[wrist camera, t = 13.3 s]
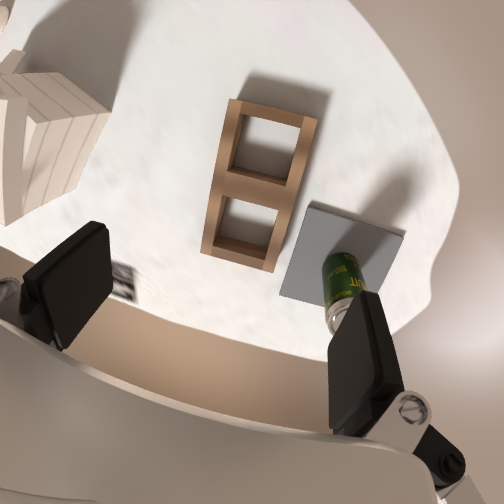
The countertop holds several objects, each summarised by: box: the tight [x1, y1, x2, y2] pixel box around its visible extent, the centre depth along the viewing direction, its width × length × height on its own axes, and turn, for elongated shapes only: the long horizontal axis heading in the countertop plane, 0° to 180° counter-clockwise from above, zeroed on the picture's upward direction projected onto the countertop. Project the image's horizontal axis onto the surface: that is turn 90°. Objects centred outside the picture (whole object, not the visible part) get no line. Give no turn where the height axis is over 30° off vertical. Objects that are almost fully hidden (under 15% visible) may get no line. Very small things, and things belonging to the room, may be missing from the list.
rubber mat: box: [279, 206, 404, 307], centre depth 39 cm, size 14×14×1 cm
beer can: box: [322, 252, 368, 336], centre depth 34 cm, size 5×5×12 cm
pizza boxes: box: [0, 49, 111, 227], centre depth 28 cm, size 19×30×18 cm, turn 51°
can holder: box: [200, 99, 318, 273], centre depth 35 cm, size 20×10×4 cm, turn 167°
